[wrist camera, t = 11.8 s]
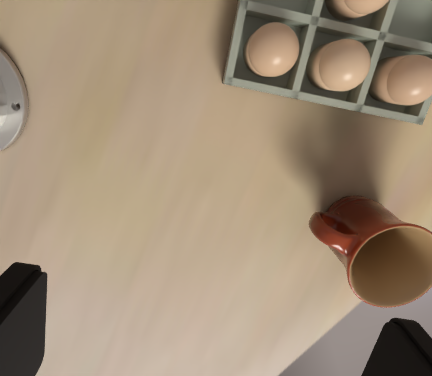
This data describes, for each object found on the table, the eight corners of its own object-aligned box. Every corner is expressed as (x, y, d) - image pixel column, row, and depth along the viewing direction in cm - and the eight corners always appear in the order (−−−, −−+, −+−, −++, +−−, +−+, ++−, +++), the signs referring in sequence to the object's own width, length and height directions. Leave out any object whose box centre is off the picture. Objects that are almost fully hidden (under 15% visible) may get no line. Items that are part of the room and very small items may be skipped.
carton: (222, 83, 34) (226, 85, 27) (252, -74, 30) (265, -115, 23) (403, 120, 36) (447, 130, 29) (457, -22, 31) (522, -47, 25)
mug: (399, 203, 39) (464, 245, 29) (360, 262, 41) (407, 319, 32) (312, 163, 37) (350, 195, 27) (276, 228, 39) (299, 278, 30)
